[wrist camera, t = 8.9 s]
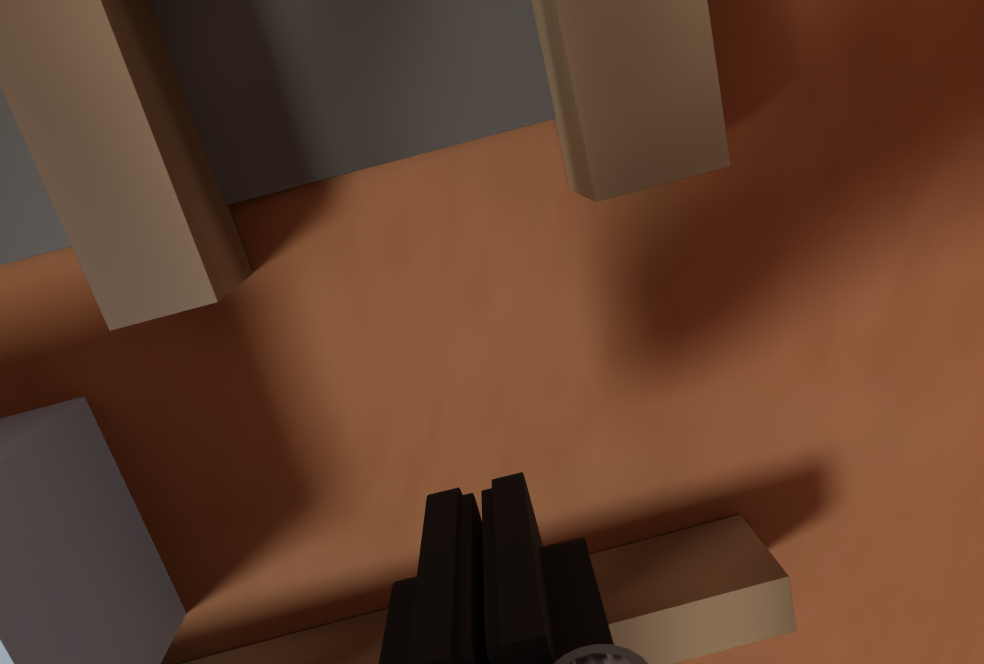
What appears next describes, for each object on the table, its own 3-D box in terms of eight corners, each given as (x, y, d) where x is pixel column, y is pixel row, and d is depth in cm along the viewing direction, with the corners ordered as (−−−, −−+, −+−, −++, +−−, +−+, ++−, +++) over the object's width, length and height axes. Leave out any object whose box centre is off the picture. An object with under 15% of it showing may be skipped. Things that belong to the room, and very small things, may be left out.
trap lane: (616, -254, 12) (695, -421, 9) (748, 563, 18) (833, 682, 14) (-535, 49, 12) (-966, 15, 9) (-55, 777, 18) (-189, 956, 14)
